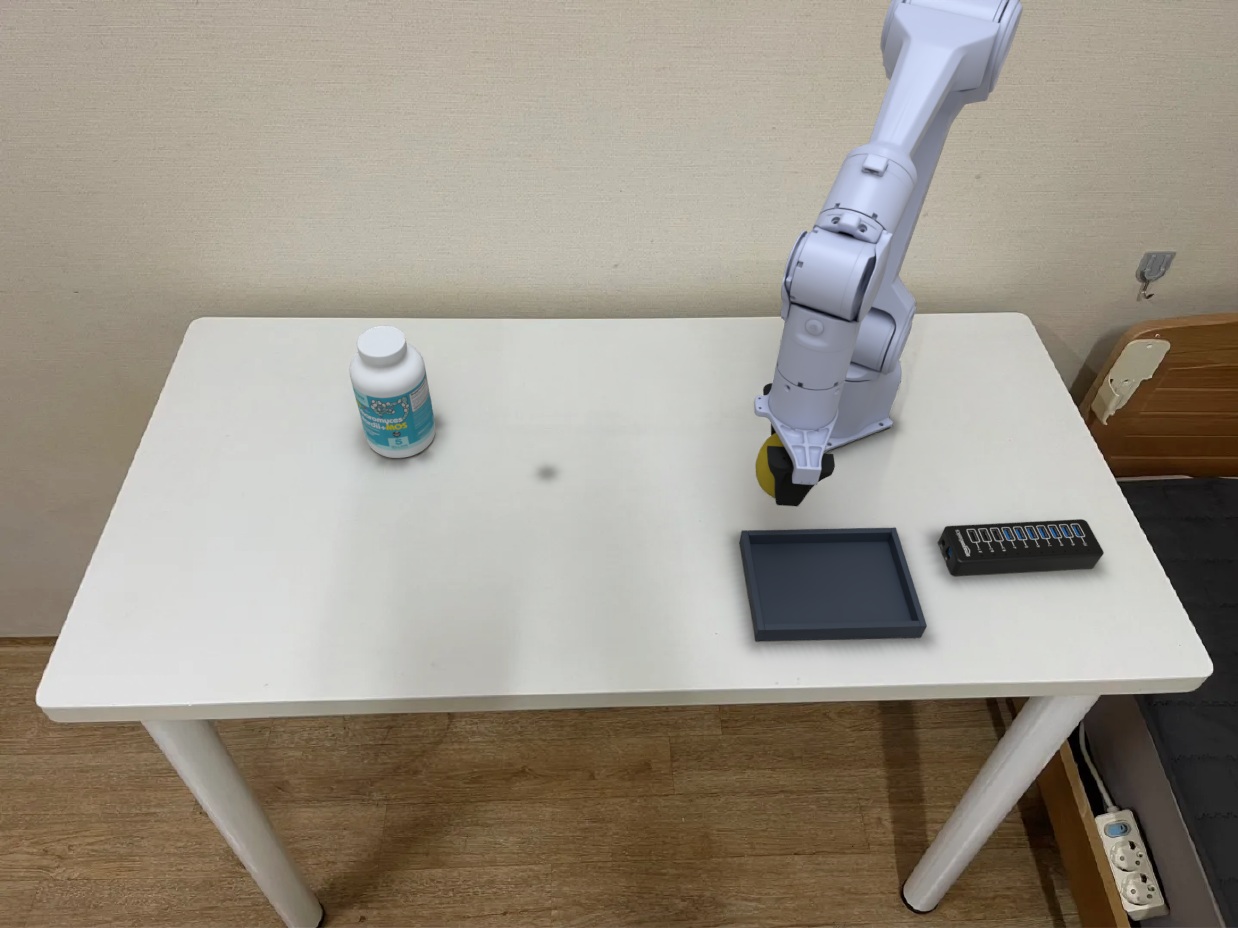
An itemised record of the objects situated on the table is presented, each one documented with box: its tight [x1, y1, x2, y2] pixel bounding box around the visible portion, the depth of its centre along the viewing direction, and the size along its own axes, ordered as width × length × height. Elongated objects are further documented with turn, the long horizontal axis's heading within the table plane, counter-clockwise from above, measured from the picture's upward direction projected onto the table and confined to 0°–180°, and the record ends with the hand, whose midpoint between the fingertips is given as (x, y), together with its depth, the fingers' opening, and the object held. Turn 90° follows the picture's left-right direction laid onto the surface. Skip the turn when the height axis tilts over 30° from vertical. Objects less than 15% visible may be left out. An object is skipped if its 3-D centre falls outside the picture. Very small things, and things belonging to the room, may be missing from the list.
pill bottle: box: [348, 325, 436, 459], centre depth 91 cm, size 8×7×14 cm
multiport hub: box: [937, 518, 1105, 577], centre depth 86 cm, size 4×14×2 cm, turn 95°
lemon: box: [755, 433, 784, 499], centre depth 81 cm, size 6×6×8 cm
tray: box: [738, 527, 928, 643], centre depth 83 cm, size 15×11×2 cm
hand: (785, 477), depth 82 cm, fingers closed on lemon, 5 cm apart
